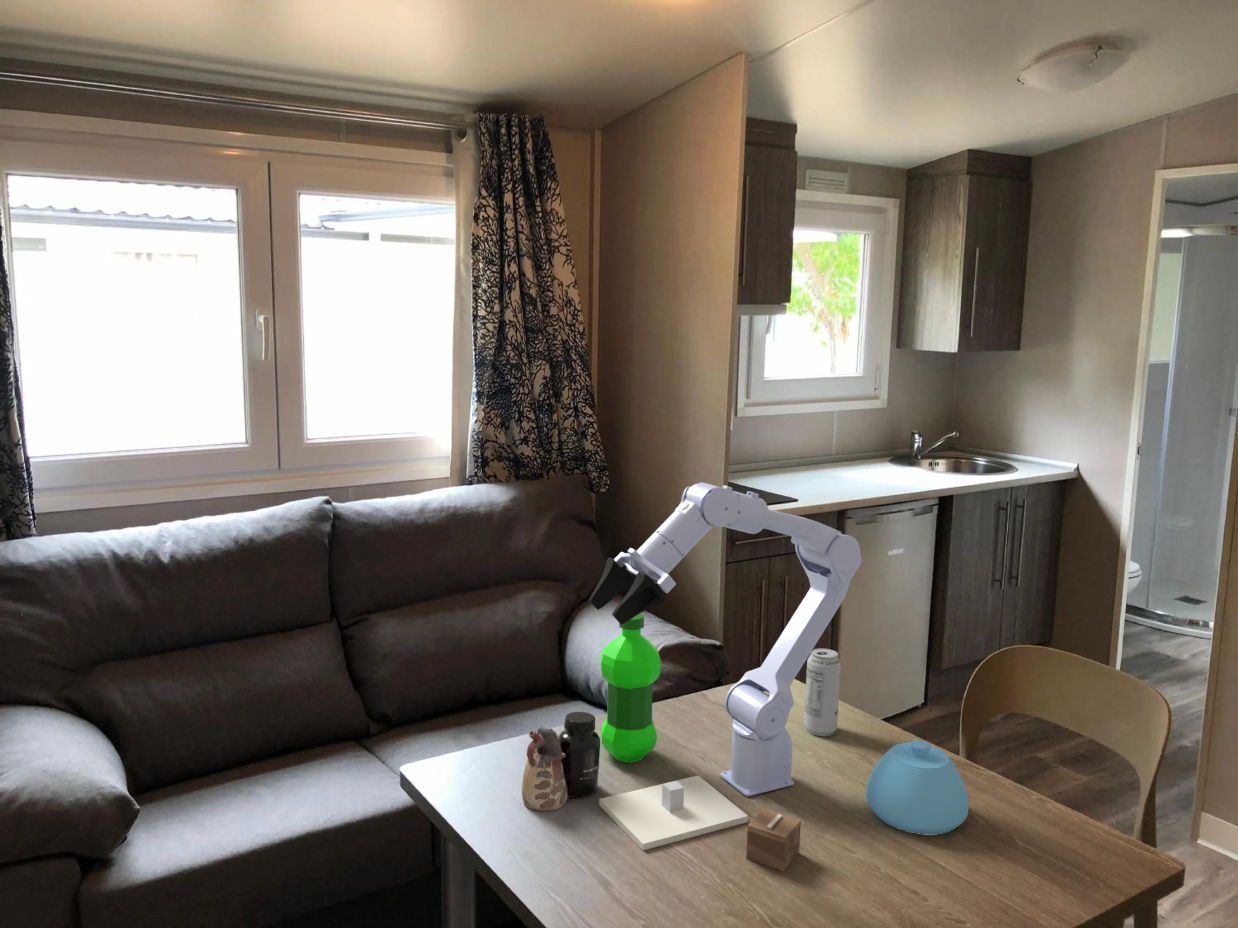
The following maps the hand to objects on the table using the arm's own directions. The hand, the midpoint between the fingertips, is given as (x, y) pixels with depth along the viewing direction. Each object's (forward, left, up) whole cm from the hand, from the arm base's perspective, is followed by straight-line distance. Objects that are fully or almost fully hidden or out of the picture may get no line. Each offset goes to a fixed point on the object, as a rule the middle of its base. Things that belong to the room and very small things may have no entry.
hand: (604, 612), depth 136 cm
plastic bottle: (-14, -17, -32) cm, 39 cm away
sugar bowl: (-45, +19, -33) cm, 59 cm away
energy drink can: (-51, -11, -32) cm, 61 cm away
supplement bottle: (-1, -10, -32) cm, 34 cm away
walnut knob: (-18, +19, -32) cm, 41 cm away
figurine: (+5, -9, -32) cm, 34 cm away
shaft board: (-11, +3, -32) cm, 34 cm away
